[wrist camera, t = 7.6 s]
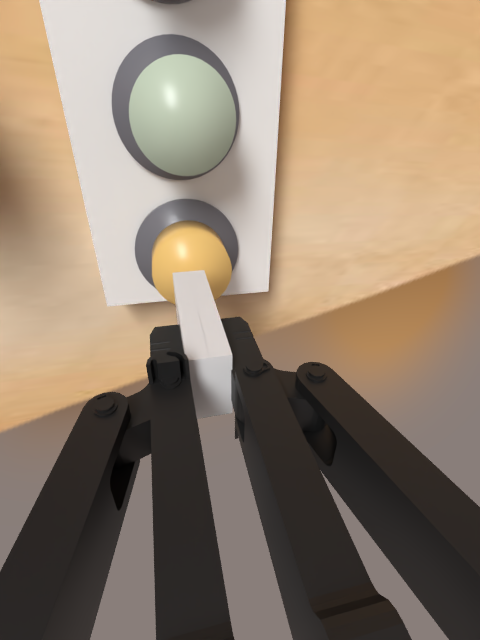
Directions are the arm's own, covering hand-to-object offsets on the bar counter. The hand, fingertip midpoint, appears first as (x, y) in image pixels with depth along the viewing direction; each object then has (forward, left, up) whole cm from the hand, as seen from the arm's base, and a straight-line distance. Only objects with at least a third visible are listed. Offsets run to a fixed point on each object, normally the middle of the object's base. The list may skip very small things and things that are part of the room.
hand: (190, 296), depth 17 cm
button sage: (0, +7, -4) cm, 9 cm away
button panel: (0, +7, -9) cm, 12 cm away
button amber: (0, 0, -5) cm, 5 cm away
